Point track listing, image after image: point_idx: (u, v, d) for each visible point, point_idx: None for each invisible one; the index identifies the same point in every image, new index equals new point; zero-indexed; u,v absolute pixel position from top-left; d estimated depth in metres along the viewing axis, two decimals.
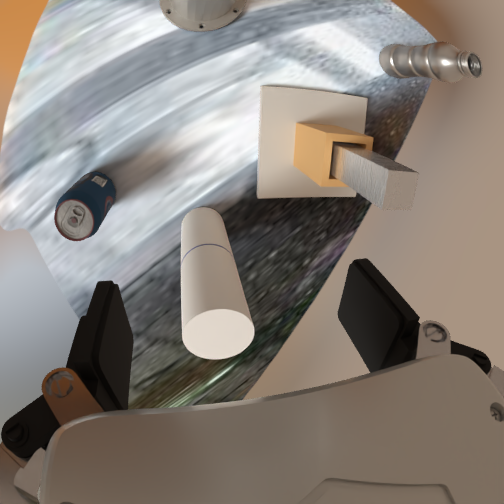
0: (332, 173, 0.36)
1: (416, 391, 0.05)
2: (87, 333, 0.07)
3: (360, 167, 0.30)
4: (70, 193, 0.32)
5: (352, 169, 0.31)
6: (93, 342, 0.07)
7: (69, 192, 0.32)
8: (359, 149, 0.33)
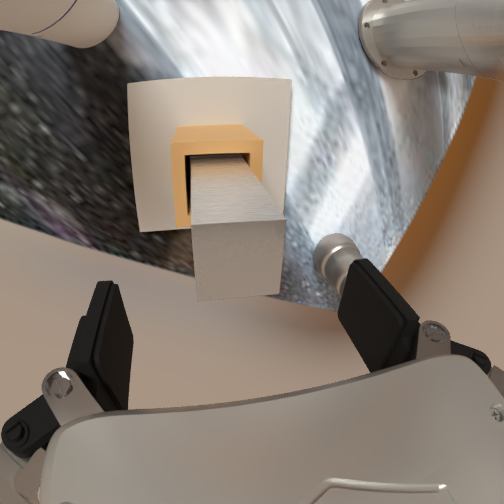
0: (194, 160, 0.22)
1: (416, 391, 0.05)
2: (87, 333, 0.07)
3: (240, 184, 0.17)
4: None
5: (225, 176, 0.18)
6: (93, 342, 0.07)
7: None
8: None
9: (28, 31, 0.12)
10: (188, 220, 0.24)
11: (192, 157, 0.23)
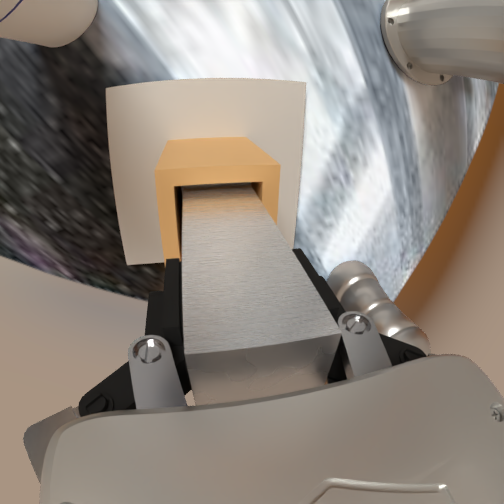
0: (187, 193, 0.16)
1: (416, 391, 0.05)
2: (170, 302, 0.09)
3: (256, 243, 0.11)
4: None
5: (231, 226, 0.13)
6: (179, 310, 0.09)
7: None
8: None
9: None
10: None
11: (184, 187, 0.17)
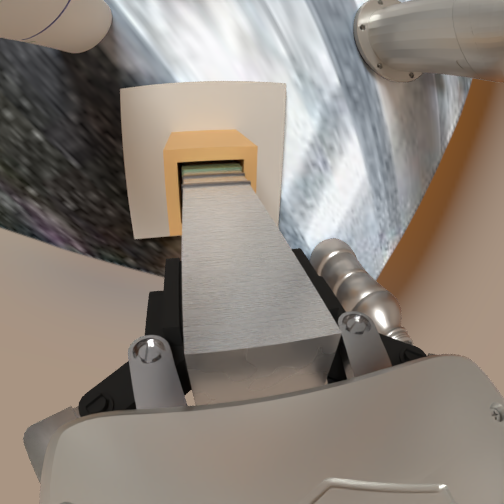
0: (187, 193, 0.16)
1: (416, 391, 0.05)
2: (170, 302, 0.09)
3: (256, 243, 0.11)
4: None
5: (231, 226, 0.13)
6: (179, 310, 0.09)
7: None
8: None
9: (19, 37, 0.11)
10: None
11: (184, 187, 0.17)
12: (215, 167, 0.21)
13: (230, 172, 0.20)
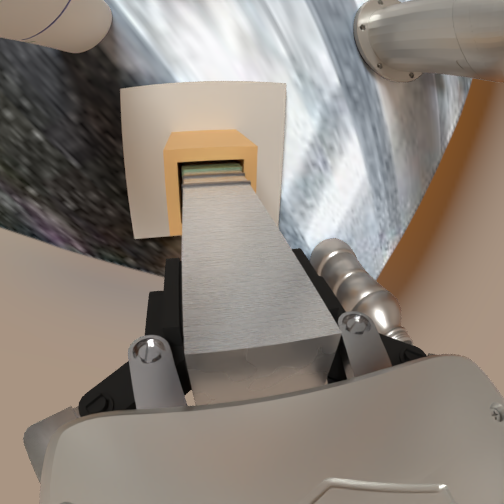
0: (187, 193, 0.16)
1: (416, 391, 0.05)
2: (170, 302, 0.09)
3: (256, 243, 0.11)
4: None
5: (231, 226, 0.13)
6: (179, 310, 0.09)
7: None
8: None
9: (19, 37, 0.11)
10: None
11: (184, 187, 0.17)
12: (215, 167, 0.21)
13: (230, 172, 0.20)
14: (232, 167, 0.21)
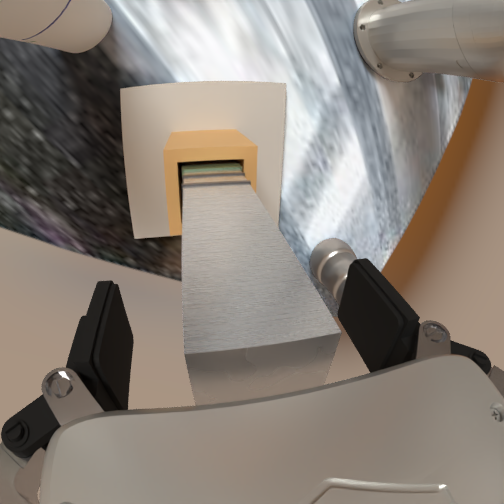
0: (187, 192, 0.16)
1: (416, 391, 0.05)
2: (87, 333, 0.07)
3: (256, 243, 0.11)
4: None
5: (231, 225, 0.13)
6: (93, 342, 0.07)
7: None
8: None
9: (19, 37, 0.11)
10: None
11: (184, 187, 0.17)
12: (215, 167, 0.21)
13: (230, 172, 0.20)
14: (232, 167, 0.21)
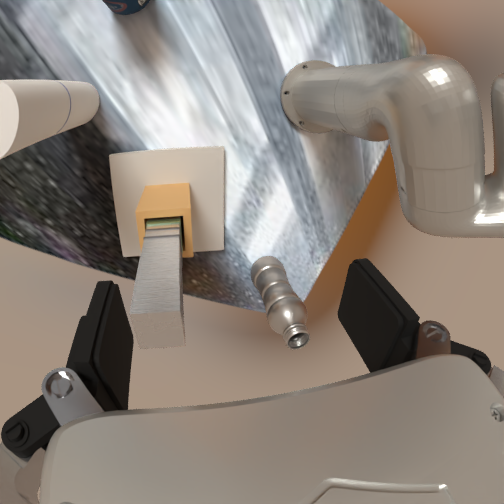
0: (145, 243, 0.31)
1: (416, 391, 0.05)
2: (87, 333, 0.07)
3: (166, 275, 0.26)
4: None
5: (159, 265, 0.27)
6: (93, 342, 0.07)
7: None
8: None
9: None
10: None
11: (144, 239, 0.32)
12: (165, 222, 0.35)
13: (172, 226, 0.35)
14: (175, 222, 0.36)
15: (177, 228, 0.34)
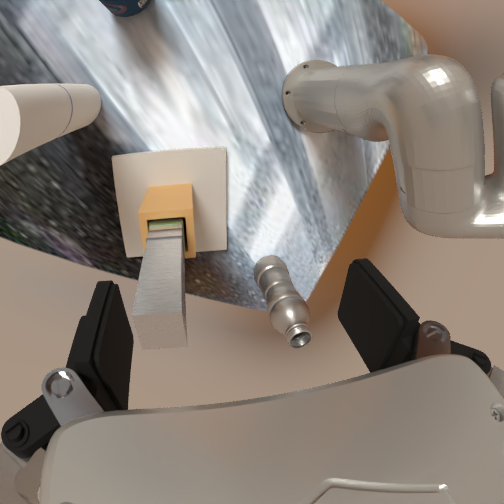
0: (147, 245, 0.31)
1: (416, 391, 0.05)
2: (87, 333, 0.07)
3: (168, 276, 0.27)
4: None
5: (161, 267, 0.28)
6: (93, 342, 0.07)
7: None
8: (183, 270, 0.32)
9: None
10: None
11: (147, 240, 0.32)
12: (167, 223, 0.36)
13: (175, 227, 0.35)
14: (177, 223, 0.36)
15: (179, 229, 0.35)
